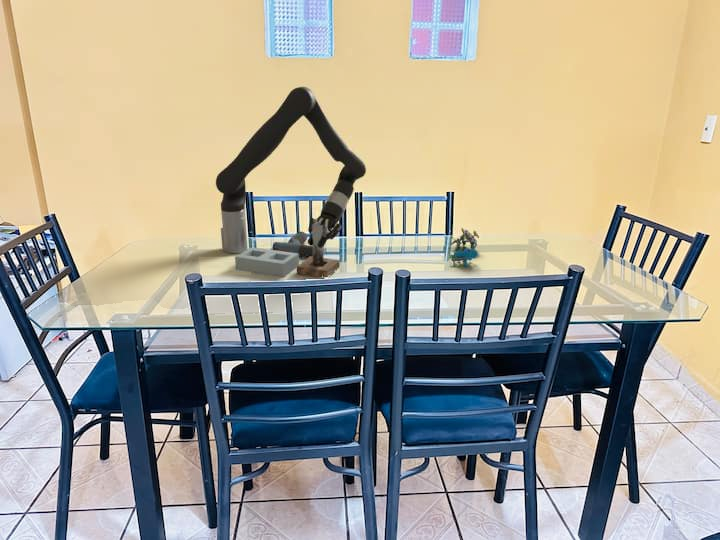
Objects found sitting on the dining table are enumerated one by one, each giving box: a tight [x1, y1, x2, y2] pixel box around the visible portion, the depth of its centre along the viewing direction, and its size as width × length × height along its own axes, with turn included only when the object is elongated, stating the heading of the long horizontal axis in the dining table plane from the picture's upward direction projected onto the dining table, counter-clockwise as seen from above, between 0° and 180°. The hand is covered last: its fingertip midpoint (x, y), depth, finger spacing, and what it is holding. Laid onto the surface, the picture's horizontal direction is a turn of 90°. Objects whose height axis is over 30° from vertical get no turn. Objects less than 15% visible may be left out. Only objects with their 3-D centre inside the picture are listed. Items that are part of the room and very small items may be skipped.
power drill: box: [271, 231, 313, 258], centre depth 204 cm, size 5×19×20 cm
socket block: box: [296, 256, 341, 278], centre depth 181 cm, size 12×12×3 cm
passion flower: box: [450, 227, 480, 252], centre depth 206 cm, size 11×11×12 cm
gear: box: [448, 248, 479, 268], centre depth 189 cm, size 11×6×10 cm
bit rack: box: [234, 246, 300, 278], centre depth 183 cm, size 20×12×5 cm, turn 71°
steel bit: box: [312, 223, 325, 263], centre depth 178 cm, size 4×4×14 cm
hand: (314, 245), depth 177 cm, fingers closed on steel bit, 4 cm apart
